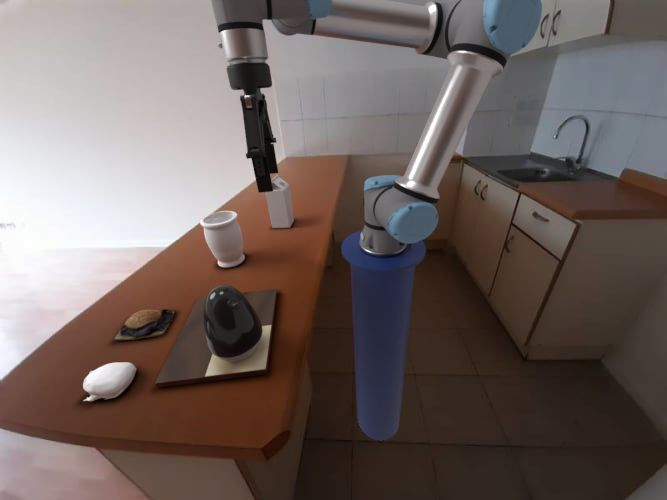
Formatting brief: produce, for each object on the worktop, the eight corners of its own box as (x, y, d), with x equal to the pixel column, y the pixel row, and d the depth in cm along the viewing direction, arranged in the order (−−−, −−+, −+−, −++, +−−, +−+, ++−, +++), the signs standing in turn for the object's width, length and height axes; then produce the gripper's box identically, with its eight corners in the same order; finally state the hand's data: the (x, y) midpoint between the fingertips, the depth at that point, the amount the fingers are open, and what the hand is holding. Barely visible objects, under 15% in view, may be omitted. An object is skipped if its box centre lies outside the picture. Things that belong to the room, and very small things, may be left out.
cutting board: (277, 293, 72) (276, 288, 72) (267, 374, 52) (265, 368, 51) (199, 301, 71) (197, 296, 71) (157, 388, 51) (154, 382, 50)
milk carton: (272, 228, 107) (262, 179, 97) (277, 220, 113) (268, 174, 103) (289, 228, 106) (282, 179, 96) (294, 220, 112) (287, 173, 102)
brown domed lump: (113, 343, 61) (105, 332, 59) (133, 316, 68) (126, 305, 66) (162, 337, 62) (156, 325, 60) (177, 311, 69) (171, 299, 67)
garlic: (78, 404, 49) (66, 391, 47) (103, 370, 55) (94, 358, 53) (124, 400, 49) (114, 387, 47) (144, 367, 55) (136, 354, 53)
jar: (217, 255, 92) (203, 213, 84) (249, 250, 93) (238, 208, 86) (212, 272, 83) (195, 227, 75) (247, 267, 84) (235, 222, 77)
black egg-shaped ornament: (232, 381, 49) (206, 318, 41) (204, 352, 55) (176, 292, 47) (277, 344, 56) (262, 284, 48) (247, 322, 62) (229, 265, 54)
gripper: (239, 69, 60) (259, 168, 70) (204, 57, 38) (240, 203, 49) (274, 66, 60) (289, 166, 71) (259, 53, 38) (283, 199, 49)
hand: (269, 181), depth 60 cm, fingers open, 13 cm apart
